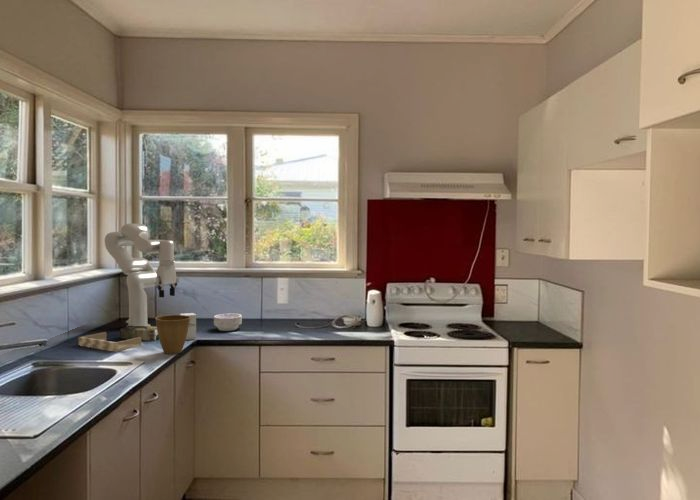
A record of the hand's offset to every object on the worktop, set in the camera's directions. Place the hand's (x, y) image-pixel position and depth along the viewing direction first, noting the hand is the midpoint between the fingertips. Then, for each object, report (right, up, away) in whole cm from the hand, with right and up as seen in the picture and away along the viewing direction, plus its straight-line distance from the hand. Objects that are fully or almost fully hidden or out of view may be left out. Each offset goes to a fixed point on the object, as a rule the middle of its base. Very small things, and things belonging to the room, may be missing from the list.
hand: (167, 296), depth 274 cm
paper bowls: (+31, -20, +10) cm, 38 cm away
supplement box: (+16, -21, -14) cm, 30 cm away
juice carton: (-8, -21, -13) cm, 26 cm away
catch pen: (-16, -21, -30) cm, 40 cm away
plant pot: (+19, -22, -43) cm, 52 cm away
